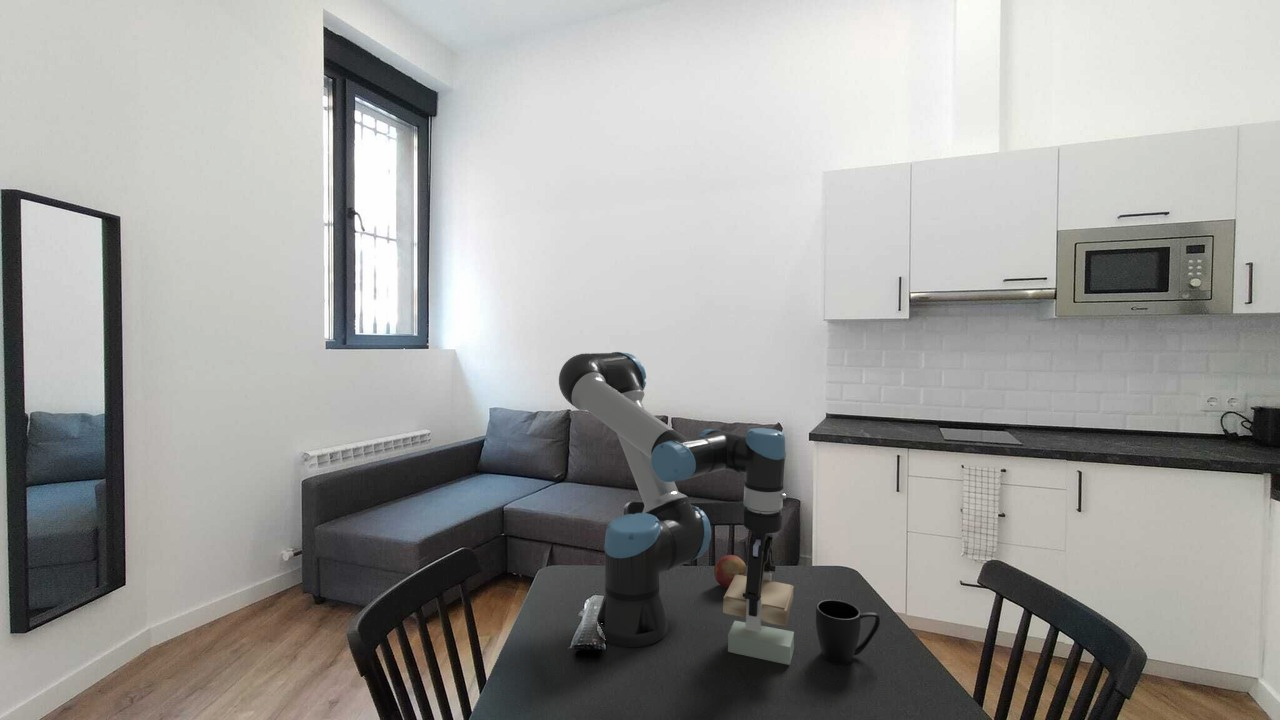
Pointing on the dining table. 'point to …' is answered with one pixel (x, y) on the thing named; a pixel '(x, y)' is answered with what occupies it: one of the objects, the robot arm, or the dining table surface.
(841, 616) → the mug
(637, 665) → the dining table surface
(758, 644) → the sage green box base
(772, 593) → the lid
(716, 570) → the fruit
